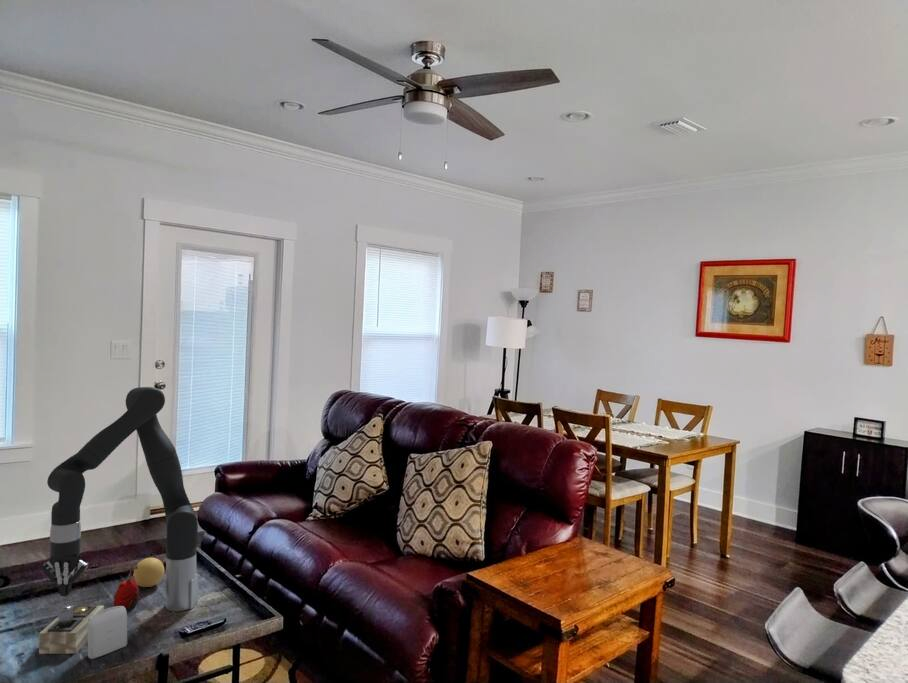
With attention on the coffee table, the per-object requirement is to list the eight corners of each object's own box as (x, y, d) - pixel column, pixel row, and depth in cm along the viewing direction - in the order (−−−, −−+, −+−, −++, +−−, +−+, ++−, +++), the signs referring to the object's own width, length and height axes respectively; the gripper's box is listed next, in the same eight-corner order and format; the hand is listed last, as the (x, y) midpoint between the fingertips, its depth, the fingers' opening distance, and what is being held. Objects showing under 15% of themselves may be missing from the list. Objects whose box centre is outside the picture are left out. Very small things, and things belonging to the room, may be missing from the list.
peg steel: (75, 623, 178) (75, 604, 177) (68, 630, 174) (68, 610, 174) (62, 623, 177) (62, 604, 177) (55, 630, 174) (55, 610, 173)
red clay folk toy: (130, 599, 204) (131, 556, 204) (144, 604, 201) (144, 561, 200) (109, 609, 198) (109, 564, 197) (122, 614, 194) (122, 569, 194)
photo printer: (90, 661, 169) (90, 618, 168) (85, 655, 172) (85, 613, 171) (129, 646, 177) (129, 605, 176) (123, 640, 180) (123, 600, 179)
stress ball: (163, 591, 213) (173, 564, 220) (149, 578, 207) (160, 551, 214) (137, 593, 214) (148, 566, 222) (122, 580, 208) (134, 553, 215)
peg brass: (89, 625, 186) (89, 606, 186) (83, 631, 182) (83, 612, 182) (77, 625, 186) (77, 606, 185) (70, 631, 182) (70, 612, 182)
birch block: (103, 624, 188) (103, 603, 188) (75, 653, 172) (75, 631, 172) (70, 624, 188) (70, 603, 187) (39, 653, 172) (39, 631, 171)
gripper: (96, 532, 179) (95, 589, 180) (49, 531, 178) (48, 589, 179) (82, 542, 171) (81, 601, 172) (33, 541, 170) (33, 601, 171)
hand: (64, 595), depth 175 cm, fingers closed
